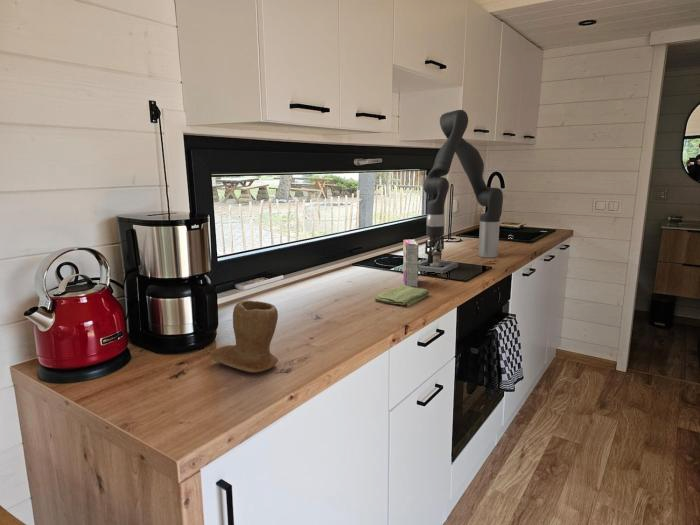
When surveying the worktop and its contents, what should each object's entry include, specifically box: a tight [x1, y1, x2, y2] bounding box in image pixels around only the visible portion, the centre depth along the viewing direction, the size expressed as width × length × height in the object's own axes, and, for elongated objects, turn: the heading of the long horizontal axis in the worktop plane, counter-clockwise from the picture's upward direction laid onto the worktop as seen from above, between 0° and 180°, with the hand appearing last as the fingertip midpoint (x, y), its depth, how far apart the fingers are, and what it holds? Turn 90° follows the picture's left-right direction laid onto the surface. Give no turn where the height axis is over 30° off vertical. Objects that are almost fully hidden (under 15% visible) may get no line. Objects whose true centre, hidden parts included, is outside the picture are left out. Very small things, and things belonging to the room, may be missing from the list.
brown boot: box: [208, 300, 279, 374], centre depth 111 cm, size 15×12×15 cm
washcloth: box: [374, 284, 430, 307], centre depth 164 cm, size 13×18×3 cm
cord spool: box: [428, 251, 443, 268], centre depth 209 cm, size 6×6×7 cm
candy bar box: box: [402, 238, 419, 288], centre depth 183 cm, size 11×5×16 cm, turn 179°
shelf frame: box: [418, 258, 459, 275], centre depth 209 cm, size 17×15×2 cm
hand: (434, 261), depth 209 cm, fingers open, 8 cm apart
